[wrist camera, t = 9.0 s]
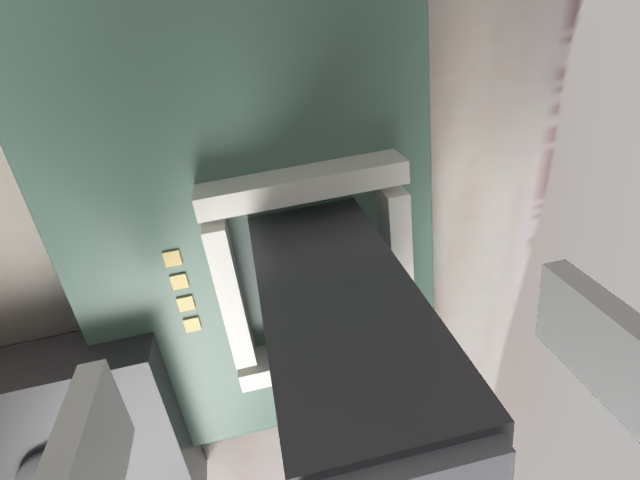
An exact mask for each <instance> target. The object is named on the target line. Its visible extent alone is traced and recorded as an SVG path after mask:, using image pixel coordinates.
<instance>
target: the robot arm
mask: <svg viewBox="0 0 640 480" xmlns="http://www.w3.org/2000/svg"><path fill="white" fill-rule="evenodd" d="M535 335H536V336H537V337H538V338H539V339H540V341H542V342H543V344H544V345H545V346H546V347H547V348H548V349H549V350H550V351H551V352H552V353H553V354H554V355H555V356H556V357H557V358H558V359H559V360H560V361H561V362H562V363H563V364H564V365H565V366H566V367H567V368H568V369H569V370H570V371H571V373H572V374H573V375H574V376H575V377H576V378H577V379H578V380H579V381H580V382H581V383H582V384H583V385H584V386H585V387H586V388H587V389H588V390H589V391H590V392H591V393H592V394H593V395H594V396H595V397H596V398H597V399H598V400H599V401H600V402H601V403H602V405H603V406H604V407H605V408H607V410H608V411H609V412H610V413H611V414H612V415H613V416H614V417H615V418H616V419H617V420H618V421H619V422H620V423H621V424H622V425H623V426H624V427H625V428H626V429H627V430H628V431H629V432H630V433H631V434H632V435H633V436H634V438H635V439H636V440H637V441H638V442H639V443H640V313H638V312H637V311H636V310H634V309H633V308H632V307H630V306H629V305H628V304H626V303H625V302H623V301H622V300H621V299H619V298H618V297H617V296H615V295H614V294H612V293H611V292H610V291H608V290H607V289H606V288H604V287H603V286H601V285H600V284H599V283H597V282H596V281H594V280H593V279H592V278H590V277H589V276H588V275H586V274H585V273H583V272H582V271H581V270H579V269H578V268H577V267H575V266H574V265H572V264H571V263H570V262H568V261H567V260H566V259H564V260H560V261H555V262H551V263H546V264H543V265H542V274H541V285H540V294H539V305H538V314H537V325H536V334H535ZM134 433H135V427H134V425H133V423H132V420H131V418H130V415H129V413H128V411H127V408H126V406H125V403H124V401H123V399H122V396H121V394H120V391H119V389H118V387H117V384H116V382H115V380H114V377H113V375H112V372H111V370H110V368H109V365H108V363H107V360H106V359H102V360H98V361H93V362H89V363H84V364H79V365H77V367H76V370H75V372H74V375H73V377H72V380H71V382H70V385H69V387H68V390H67V393H66V395H65V398H64V400H63V403H62V405H61V408H60V411H59V413H58V416H57V418H56V421H55V423H54V426H53V429H52V431H51V434H50V436H49V439H48V441H47V444H46V447H45V449H44V452H43V454H42V457H41V459H40V462H39V465H38V467H37V470H36V472H35V475H34V477H33V480H125V479H126V474H127V469H128V464H129V459H130V453H131V448H132V443H133V438H134Z"/></svg>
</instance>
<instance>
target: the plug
mask: <svg viewBox="0 0 640 480" xmlns="http://www.w3.org/2000/svg"><path fill="white" fill-rule="evenodd" d="M248 225H249V231H250V238H251V245H252V252H253V259H254V266H255V273H256V280H257V286H258V293H259V300H260V307H261V314H262V321H263V328H264V335H265V341H266V348H267V355H268V362H269V369H270V376H271V383H272V390H273V397H274V403H275V410H276V417H277V424H278V431H279V438H280V445H281V452H282V458H283V465H284V472H285V479H286V480H513V476H514V464H515V453H516V451H515V450H514V449H513V447H512V444H513V432H514V421H513V419H512V418H511V416H510V415H509V414H508V412H507V411H506V409H505V408H504V407H503V405H502V404H501V402H500V401H499V400H498V398H497V397H496V395H495V394H494V393H493V391H492V390H491V388H490V387H489V386H488V384H487V383H486V381H485V380H484V379H483V377H482V376H481V374H480V373H479V372H478V370H477V369H476V367H475V366H474V365H473V363H472V362H471V361H470V359H469V358H468V356H467V355H466V354H465V352H464V351H463V349H462V348H461V347H460V345H459V344H458V342H457V341H456V340H455V338H454V337H453V335H452V334H451V333H450V331H449V330H448V328H447V327H446V326H445V324H444V323H443V321H442V320H441V319H440V317H439V316H438V314H437V313H436V312H435V310H434V309H433V307H432V306H431V305H430V303H429V302H428V301H427V299H426V298H425V296H424V295H423V294H422V292H421V291H420V289H419V288H418V287H417V285H416V284H415V282H414V281H413V280H412V278H411V277H410V275H409V274H408V273H407V271H406V270H405V268H404V267H403V266H402V264H401V263H400V261H399V260H398V259H397V257H396V256H395V254H394V253H393V252H392V250H391V249H390V247H389V246H388V245H387V243H386V242H385V241H384V239H383V238H382V236H381V235H380V234H379V232H378V231H377V229H376V228H375V227H374V225H373V224H372V222H371V221H370V220H369V218H368V217H367V215H366V214H365V213H364V211H363V210H362V208H361V207H360V206H359V204H358V203H357V201H356V200H355V199H354V198H350V199H345V200H340V201H334V202H329V203H324V204H319V205H313V206H308V207H303V208H298V209H292V210H287V211H282V212H276V213H271V214H266V215H261V216H255V217H250V218H248Z"/></svg>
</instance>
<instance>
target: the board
mask: <svg viewBox="0 0 640 480" xmlns="http://www.w3.org/2000/svg"><path fill="white" fill-rule="evenodd" d="M0 145H1V147H2V149H3V151H4V154H5V156H6V158H7V161H8V163H9V165H10V168H11V170H12V172H13V175H14V177H15V179H16V181H17V184H18V186H19V188H20V191H21V193H22V195H23V198H24V200H25V202H26V204H27V207H28V209H29V211H30V214H31V216H32V218H33V221H34V223H35V225H36V228H37V230H38V232H39V234H40V237H41V239H42V241H43V244H44V246H45V248H46V251H47V253H48V255H49V258H50V260H51V262H52V264H53V267H54V269H55V271H56V274H57V276H58V278H59V281H60V283H61V285H62V287H63V290H64V292H65V294H66V297H67V299H68V301H69V304H70V306H71V308H72V311H73V313H74V315H75V317H76V320H77V322H78V324H79V327H80V329H81V331H82V334H83V336H84V338H85V341H86V343H87V345H88V346H90V345H95V344H100V343H104V342H109V341H114V340H118V339H123V338H128V337H133V336H137V335H142V334H147V333H151V332H154V334H155V337H156V340H157V343H158V345H159V348H160V351H161V354H162V357H163V360H164V363H165V366H166V368H167V371H168V374H169V377H170V380H171V383H172V386H173V388H174V391H175V394H176V397H177V400H178V403H179V406H180V409H181V411H182V414H183V417H184V420H185V423H186V426H187V429H188V431H189V434H190V437H191V440H192V443H193V446H194V447H195V446H199V445H203V444H207V443H212V442H216V441H220V440H224V439H228V438H232V437H236V436H241V435H245V434H249V433H253V432H257V431H261V430H265V429H270V428H274V427H278V424H277V417H276V410H275V403H274V397H273V390H272V383H271V376H270V369H269V362H268V355H267V348H266V341H265V335H264V328H263V321H262V314H261V307H260V300H259V293H258V286H257V280H256V273H255V266H254V259H253V252H252V245H251V238H250V231H249V225H248V218H250V217H255V216H261V215H266V214H271V213H276V212H282V211H287V210H292V209H298V208H303V207H308V206H313V205H319V204H324V203H329V202H334V201H340V200H345V199H350V198H354V199H355V200H356V201H357V203H358V204H359V206H360V207H361V208H362V210H363V211H364V213H365V214H366V215H367V217H368V218H369V220H370V221H371V222H372V224H373V225H374V227H375V228H376V229H377V231H378V232H379V234H380V235H381V236H382V238H383V239H384V241H385V242H386V243H387V245H388V246H389V247H390V249H391V250H392V252H393V253H394V254H395V256H396V257H397V259H398V260H399V261H400V263H401V264H402V266H403V267H404V268H405V270H406V271H407V273H408V274H409V275H410V277H411V278H412V280H413V281H414V282H415V284H416V285H417V287H418V288H419V289H420V291H421V292H422V294H423V295H424V296H425V298H426V299H427V301H428V302H429V303H430V305H431V306H432V307H433V309H434V302H433V251H432V200H431V149H430V98H429V48H428V0H0Z"/></svg>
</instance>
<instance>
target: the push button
mask: <svg viewBox="0 0 640 480" xmlns="http://www.w3.org/2000/svg"><path fill="white" fill-rule="evenodd" d="M102 359H106V360H107V363H108V365H109V368H110V370H111V372H112V375H113V377H114V380H115V382H116V384H117V387H118V389H119V391H120V394H121V396H122V399H123V401H124V403H125V406H126V408H127V411H128V413H129V415H130V418H131V420H132V423H133V425H134V427H135V433H134V438H133V443H132V448H131V453H130V459H129V464H128V469H127V474H126V479H125V480H207V461H206V458H205V455H204V452H203V449H202V446H201V445H199V446H195V447H194V446H193V443H192V440H191V437H190V434H189V431H188V429H187V426H186V423H185V420H184V417H183V414H182V411H181V409H180V406H179V403H178V400H177V397H176V394H175V391H174V388H173V386H172V383H171V380H170V377H169V374H168V371H167V368H166V366H165V363H164V360H163V357H162V354H161V351H160V348H159V345H158V343H157V340H156V337H155V334H154V332H151V333H147V334H142V335H137V336H133V337H128V338H123V339H118V340H114V341H109V342H104V343H100V344H95V345H90V346H88V345H87V343H86V341H85V338H84V336H83V334H82V331H77V332H72V333H67V334H62V335H57V336H53V337H48V338H43V339H38V340H33V341H29V342H24V343H19V344H14V345H9V346H5V347H0V480H33V477H34V475H35V472H36V470H37V467H38V465H39V462H40V459H41V457H42V454H43V452H44V449H45V447H46V444H47V441H48V439H49V436H50V434H51V431H52V429H53V426H54V423H55V421H56V418H57V416H58V413H59V411H60V408H61V405H62V403H63V400H64V398H65V395H66V393H67V390H68V387H69V385H70V382H71V380H72V377H73V375H74V372H75V370H76V367H77V365H79V364H84V363H89V362H93V361H98V360H102Z"/></svg>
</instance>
